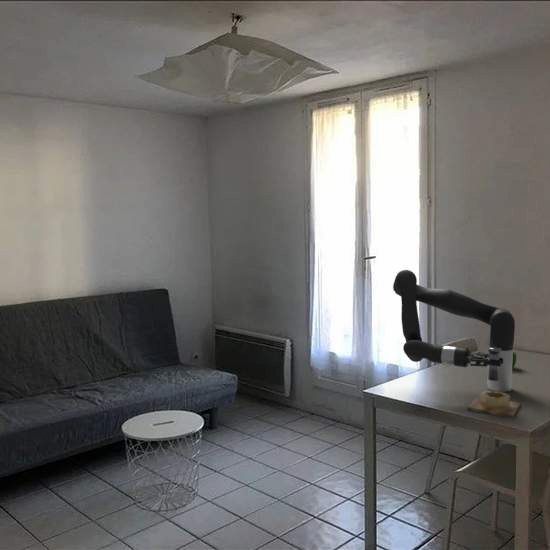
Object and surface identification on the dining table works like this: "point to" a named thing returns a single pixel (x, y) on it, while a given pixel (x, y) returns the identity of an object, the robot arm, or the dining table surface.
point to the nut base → (493, 411)
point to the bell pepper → (513, 360)
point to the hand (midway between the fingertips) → (501, 362)
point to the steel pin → (493, 369)
